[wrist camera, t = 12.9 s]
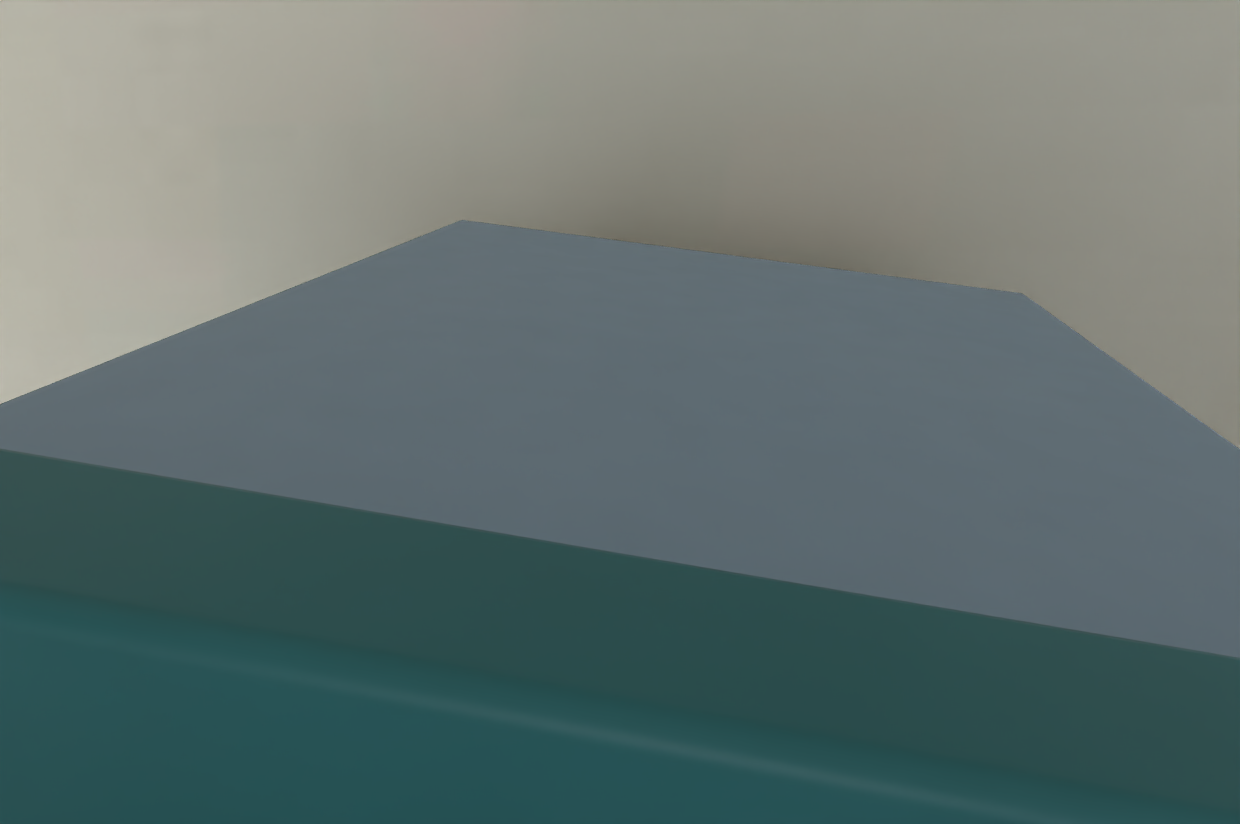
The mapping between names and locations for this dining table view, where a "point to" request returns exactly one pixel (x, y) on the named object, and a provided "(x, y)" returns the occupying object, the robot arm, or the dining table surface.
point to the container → (616, 557)
